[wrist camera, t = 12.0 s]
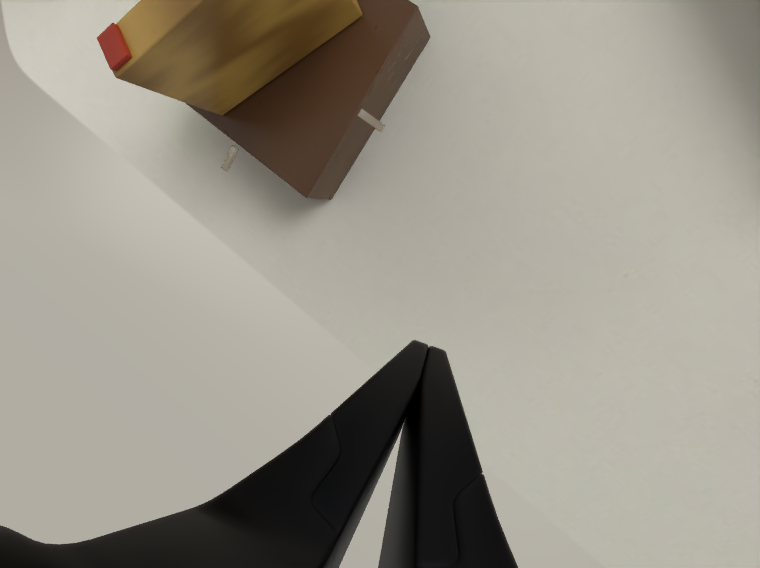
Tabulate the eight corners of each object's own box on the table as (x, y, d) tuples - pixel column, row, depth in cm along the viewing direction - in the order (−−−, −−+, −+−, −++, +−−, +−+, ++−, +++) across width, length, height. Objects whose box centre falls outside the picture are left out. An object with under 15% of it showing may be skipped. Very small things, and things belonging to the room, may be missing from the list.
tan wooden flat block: (349, -18, 17) (270, -138, 11) (363, 15, 17) (291, -88, 11) (210, 88, 20) (91, 36, 15) (222, 116, 20) (108, 76, 15)
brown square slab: (476, 21, 19) (470, -15, 16) (337, 238, 23) (312, 241, 20) (279, -103, 21) (241, -157, 18) (185, 117, 25) (141, 104, 22)
